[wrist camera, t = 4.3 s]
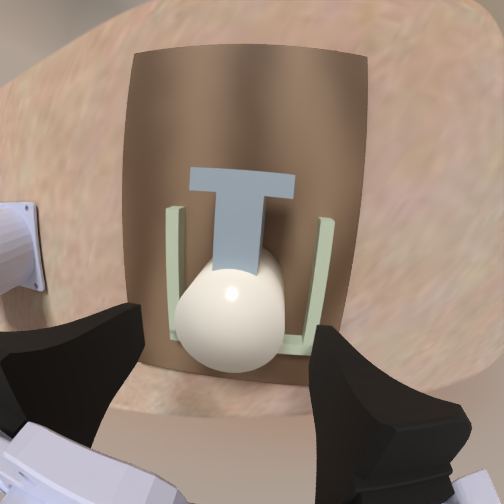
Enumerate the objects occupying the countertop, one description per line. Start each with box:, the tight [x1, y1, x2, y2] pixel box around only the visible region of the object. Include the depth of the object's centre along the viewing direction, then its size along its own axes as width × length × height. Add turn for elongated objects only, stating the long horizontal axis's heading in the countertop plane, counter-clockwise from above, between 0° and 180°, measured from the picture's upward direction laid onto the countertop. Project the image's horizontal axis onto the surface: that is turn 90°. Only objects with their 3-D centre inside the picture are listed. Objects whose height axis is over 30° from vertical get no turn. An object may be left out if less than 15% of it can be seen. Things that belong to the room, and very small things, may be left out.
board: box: [122, 44, 368, 385], centre depth 18 cm, size 15×23×1 cm, turn 176°
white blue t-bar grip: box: [174, 167, 295, 373], centre depth 15 cm, size 9×5×6 cm, turn 175°
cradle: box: [166, 206, 335, 356], centre depth 18 cm, size 10×9×1 cm
